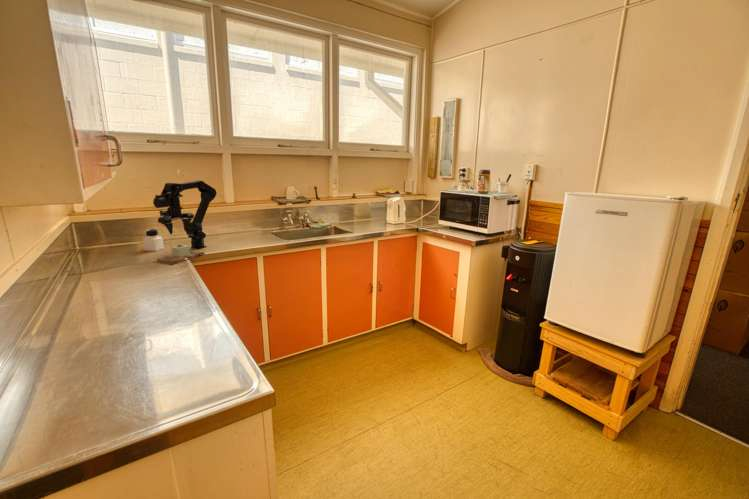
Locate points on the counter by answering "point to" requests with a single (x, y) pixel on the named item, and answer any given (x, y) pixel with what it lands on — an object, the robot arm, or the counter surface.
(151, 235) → the medicine bottle
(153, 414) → the counter surface
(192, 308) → the counter surface
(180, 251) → the square hollow cube
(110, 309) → the counter surface
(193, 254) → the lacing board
